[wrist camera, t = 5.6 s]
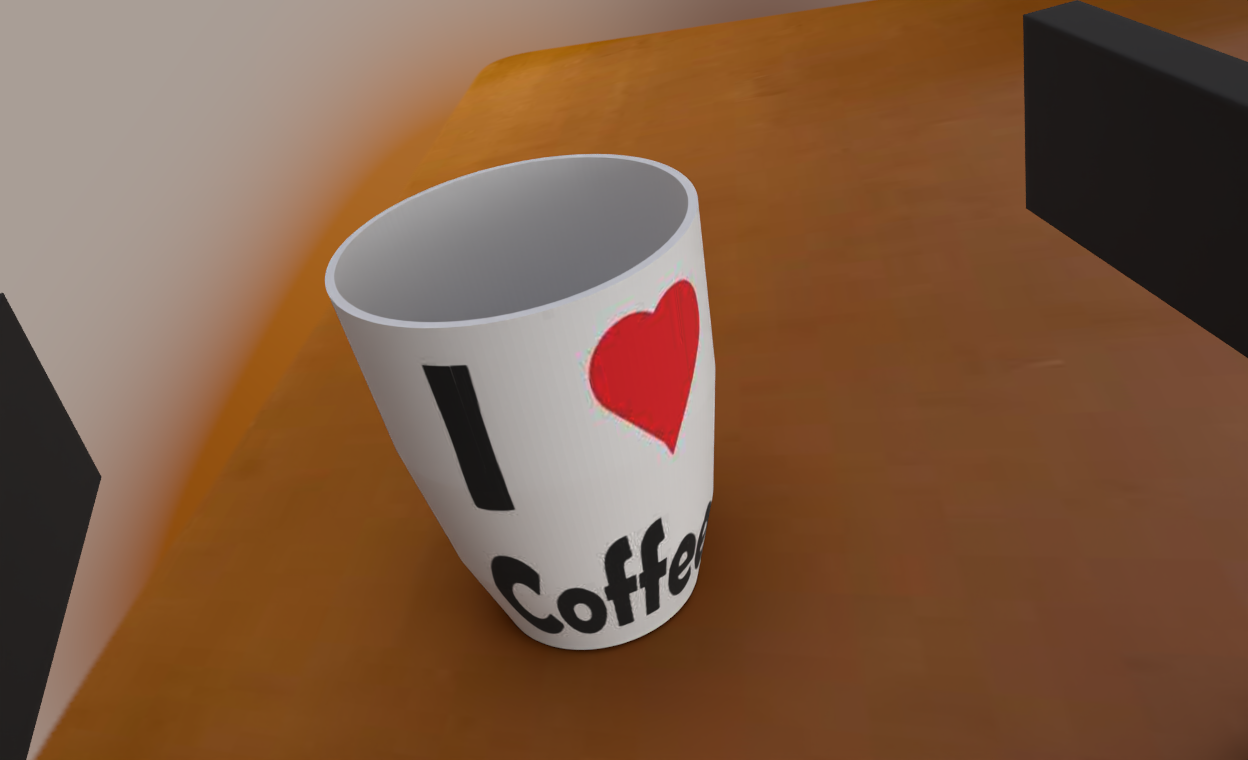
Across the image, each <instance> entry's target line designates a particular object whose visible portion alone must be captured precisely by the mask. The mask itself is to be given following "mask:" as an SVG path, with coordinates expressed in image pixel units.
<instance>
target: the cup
mask: <svg viewBox="0 0 1248 760" xmlns="http://www.w3.org/2000/svg"><path fill="white" fill-rule="evenodd" d="M325 285H326V290H327V292H328V295H329V297H330V299H331V302H332V304H333V306H334V308H335V311H336V313H337V315H338V318H339V320H340V322H341V324H342V327H343V329H344V331H345V334H346V336H347V338H348V340H349V343H350V345H351V347H352V350H353V352H354V354H355V356H356V359H357V361H358V363H359V366H360V368H361V370H362V372H363V375H364V377H365V379H366V382H367V384H368V386H369V389H370V391H371V393H372V395H373V398H374V400H375V402H376V405H377V407H378V409H379V411H380V414H381V416H382V418H383V421H384V423H385V425H386V427H387V430H388V432H389V434H390V437H391V439H392V441H393V443H394V446H395V448H396V450H397V452H398V454H399V456H400V457H401V459H402V461H403V462H404V464H405V466H406V467H407V469H408V471H409V472H410V474H411V476H412V478H413V479H414V481H415V483H416V484H417V486H418V488H419V489H420V491H421V493H422V494H423V496H424V498H425V499H426V501H427V503H428V505H429V506H430V508H431V510H432V511H433V513H434V515H435V516H436V518H437V520H438V521H439V523H440V525H441V527H442V528H443V530H444V532H445V533H446V535H447V537H448V538H449V540H450V542H451V543H452V545H453V547H454V549H455V550H456V552H457V554H458V555H459V557H460V559H461V560H462V562H463V563H464V564H465V565H466V567H467V568H468V569H469V570H470V571H471V572H472V574H473V575H474V576H475V577H476V578H477V579H478V581H479V582H480V583H481V584H482V585H483V586H484V588H485V589H486V590H487V591H488V592H489V593H490V595H491V596H492V597H493V598H494V599H495V600H496V602H497V603H498V604H499V605H500V606H501V607H502V609H503V610H504V611H505V612H506V613H507V614H508V616H509V617H510V618H511V619H512V620H513V621H514V623H515V624H516V625H517V626H518V627H519V628H520V629H521V630H522V631H523V632H524V633H525V634H527V635H528V636H530V637H531V638H533V639H535V640H537V641H539V642H541V643H544V644H547V645H550V646H554V647H558V648H564V649H574V650H589V649H599V648H606V647H611V646H615V645H619V644H622V643H626V642H629V641H631V640H634V639H636V638H639V637H641V636H643V635H645V634H647V633H649V632H651V631H653V630H654V629H656V628H658V627H659V626H661V625H662V624H664V623H665V622H666V621H668V620H669V619H670V618H671V617H672V616H673V615H675V614H676V613H677V612H678V611H679V610H680V608H681V607H682V606H683V605H684V604H685V602H686V601H687V599H688V598H689V596H690V595H691V593H692V591H693V589H694V586H695V584H696V580H697V576H698V570H699V565H700V560H701V555H702V549H703V544H704V539H705V534H706V528H707V523H708V518H709V512H710V507H711V502H712V496H713V467H714V408H715V360H714V351H713V341H712V331H711V322H710V312H709V303H708V293H707V283H706V274H705V264H704V254H703V245H702V235H701V225H700V216H699V206H698V197H697V193H696V190H695V188H694V186H693V185H692V183H691V182H690V181H689V180H688V179H687V178H686V177H685V176H684V175H683V174H681V173H680V172H678V171H677V170H675V169H673V168H671V167H669V166H667V165H664V164H661V163H658V162H655V161H652V160H648V159H643V158H638V157H632V156H623V155H610V154H580V155H565V156H554V157H546V158H539V159H533V160H527V161H521V162H516V163H511V164H506V165H502V166H498V167H494V168H490V169H486V170H482V171H479V172H475V173H472V174H469V175H465V176H462V177H459V178H456V179H453V180H450V181H448V182H445V183H442V184H440V185H437V186H435V187H432V188H430V189H427V190H425V191H423V192H420V193H418V194H416V195H414V196H412V197H409V198H407V199H405V200H403V201H401V202H400V203H398V204H396V205H394V206H392V207H390V208H389V209H387V210H385V211H384V212H382V213H380V214H379V215H377V216H376V217H374V218H373V219H371V220H370V221H368V222H367V223H365V224H364V225H363V226H361V227H360V228H359V229H358V230H357V231H355V232H354V233H353V234H352V235H351V236H350V237H349V238H348V239H347V240H346V241H345V242H344V243H343V244H342V245H341V246H340V247H339V249H338V250H337V251H336V252H335V254H334V255H333V257H332V259H331V260H330V262H329V265H328V267H327V270H326V275H325Z"/></svg>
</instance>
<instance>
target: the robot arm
mask: <svg viewBox="0 0 1248 760" xmlns="http://www.w3.org/2000/svg"><path fill="white" fill-rule="evenodd" d="M1023 29H1024V97H1025V165H1026V208H1027V209H1028V210H1030V211H1031V212H1033V213H1034V214H1036V215H1037V216H1038V217H1040V218H1041V219H1043V220H1044V221H1046V222H1047V223H1049V224H1050V225H1052V226H1053V227H1055V228H1056V229H1058V230H1059V231H1061V232H1062V233H1064V234H1065V235H1067V236H1068V237H1070V238H1071V239H1073V240H1074V241H1075V242H1077V243H1078V244H1080V245H1081V246H1083V247H1084V248H1086V249H1087V250H1089V251H1090V252H1092V253H1093V254H1095V255H1096V256H1098V257H1099V258H1101V259H1102V260H1104V261H1105V262H1107V263H1108V264H1110V265H1111V266H1112V267H1114V268H1115V269H1117V270H1118V271H1120V272H1121V273H1123V274H1124V275H1126V276H1127V277H1129V278H1130V279H1132V280H1133V281H1135V282H1136V283H1138V284H1139V285H1141V286H1142V287H1144V288H1145V289H1146V290H1148V291H1149V292H1151V293H1152V294H1154V295H1155V296H1157V297H1158V298H1160V299H1161V300H1163V301H1164V302H1166V303H1167V304H1169V305H1170V306H1172V307H1173V308H1175V309H1176V310H1178V311H1179V312H1181V313H1182V314H1183V315H1185V316H1186V317H1188V318H1189V319H1191V320H1192V321H1194V322H1195V323H1197V324H1198V325H1200V326H1201V327H1203V328H1204V329H1206V330H1207V331H1209V332H1210V333H1212V334H1213V335H1215V336H1216V337H1218V338H1219V339H1220V340H1222V341H1223V342H1225V343H1226V344H1228V345H1229V346H1231V347H1232V348H1234V349H1235V350H1237V351H1238V352H1240V353H1241V354H1243V355H1244V356H1246V357H1247V358H1248V62H1246V61H1244V60H1241V59H1238V58H1235V57H1233V56H1230V55H1227V54H1224V53H1222V52H1219V51H1216V50H1213V49H1211V48H1208V47H1205V46H1202V45H1200V44H1197V43H1194V42H1191V41H1189V40H1186V39H1183V38H1180V37H1177V36H1175V35H1172V34H1169V33H1166V32H1164V31H1161V30H1158V29H1155V28H1153V27H1150V26H1147V25H1144V24H1142V23H1139V22H1136V21H1133V20H1131V19H1128V18H1125V17H1122V16H1120V15H1117V14H1114V13H1111V12H1109V11H1106V10H1103V9H1100V8H1098V7H1095V6H1092V5H1089V4H1086V3H1084V2H1081V1H1078V0H1076V1H1072V2H1069V3H1065V4H1061V5H1058V6H1054V7H1050V8H1047V9H1043V10H1039V11H1036V12H1032V13H1028V14H1025V15H1023ZM100 480H101V475H100V473H99V472H98V470H97V468H96V466H95V464H94V462H93V460H92V459H91V457H90V455H89V453H88V451H87V449H86V447H85V445H84V444H83V442H82V440H81V438H80V436H79V434H78V432H77V430H76V428H75V427H74V425H73V423H72V421H71V419H70V417H69V415H68V414H67V412H66V410H65V408H64V406H63V404H62V402H61V400H60V399H59V397H58V395H57V393H56V391H55V389H54V387H53V385H52V383H51V382H50V380H49V378H48V376H47V374H46V372H45V370H44V368H43V367H42V365H41V363H40V361H39V359H38V357H37V355H36V353H35V352H34V350H33V348H32V346H31V344H30V342H29V340H28V338H27V337H26V335H25V333H24V331H23V329H22V327H21V325H20V323H19V322H18V320H17V318H16V316H15V314H14V312H13V311H12V308H11V307H10V305H9V303H8V301H7V299H6V297H5V295H4V293H1V294H0V760H26V758H27V754H28V751H29V747H30V743H31V739H32V735H33V731H34V728H35V724H36V721H37V717H38V713H39V709H40V705H41V702H42V698H43V694H44V690H45V687H46V683H47V679H48V676H49V672H50V668H51V664H52V661H53V657H54V653H55V649H56V645H57V642H58V638H59V634H60V630H61V627H62V623H63V619H64V615H65V612H66V608H67V604H68V600H69V597H70V593H71V589H72V585H73V582H74V578H75V574H76V570H77V567H78V563H79V559H80V555H81V552H82V548H83V544H84V540H85V537H86V533H87V529H88V525H89V521H90V517H91V514H92V510H93V506H94V503H95V499H96V495H97V491H98V488H99V484H100Z"/></svg>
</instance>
